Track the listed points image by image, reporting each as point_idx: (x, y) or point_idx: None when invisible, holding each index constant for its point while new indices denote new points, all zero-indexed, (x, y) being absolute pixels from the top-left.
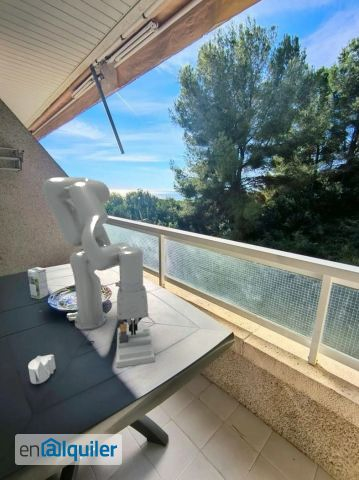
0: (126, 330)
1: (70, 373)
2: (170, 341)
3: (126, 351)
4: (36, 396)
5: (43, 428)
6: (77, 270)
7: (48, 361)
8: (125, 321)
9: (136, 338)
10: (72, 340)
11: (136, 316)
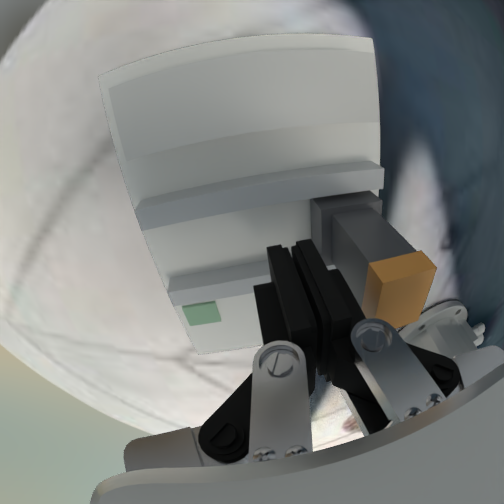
0: (373, 265)
1: (495, 87)
2: (63, 250)
3: (327, 80)
4: None
5: None
6: None
7: None
8: (423, 352)
9: (255, 252)
10: (484, 251)
11: (316, 501)
